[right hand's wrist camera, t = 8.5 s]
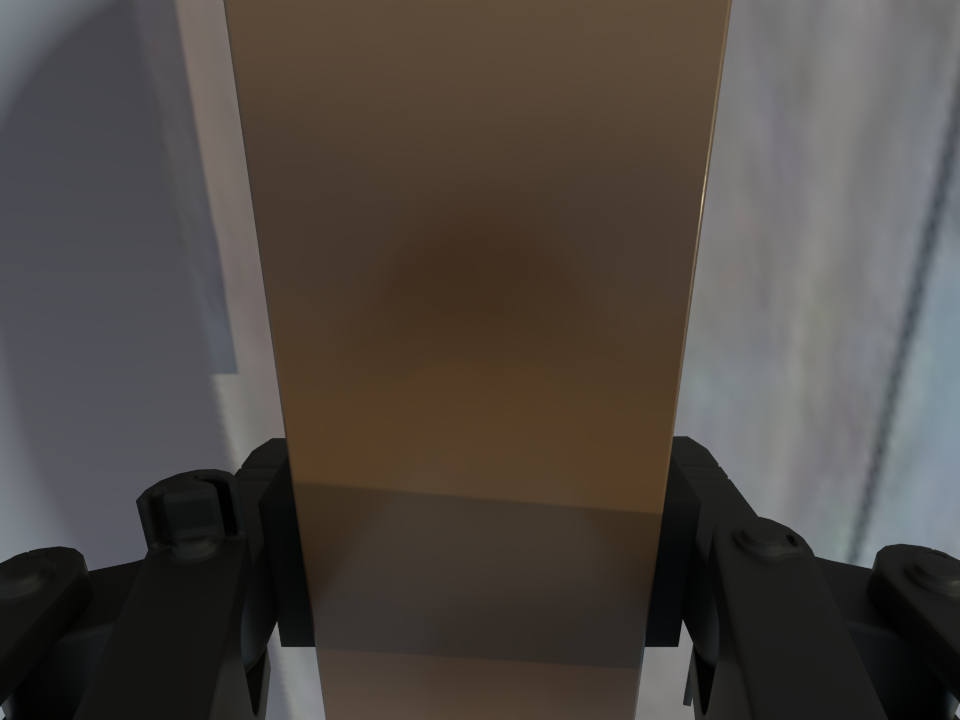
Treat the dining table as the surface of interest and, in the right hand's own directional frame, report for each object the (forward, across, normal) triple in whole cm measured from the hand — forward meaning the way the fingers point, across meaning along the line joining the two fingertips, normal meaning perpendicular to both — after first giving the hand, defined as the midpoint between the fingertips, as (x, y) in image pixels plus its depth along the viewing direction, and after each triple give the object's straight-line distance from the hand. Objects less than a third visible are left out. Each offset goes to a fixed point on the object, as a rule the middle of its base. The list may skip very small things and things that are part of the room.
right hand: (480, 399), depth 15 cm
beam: (0, 0, -28) cm, 28 cm away
